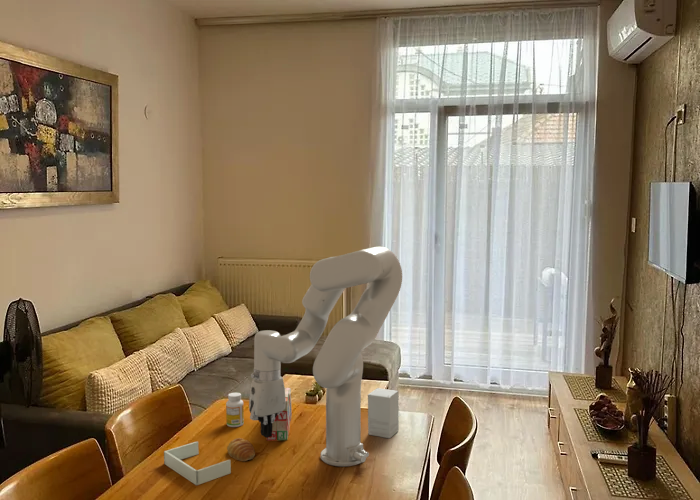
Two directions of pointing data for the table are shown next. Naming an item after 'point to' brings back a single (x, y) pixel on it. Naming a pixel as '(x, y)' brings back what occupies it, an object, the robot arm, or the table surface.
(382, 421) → the supplement box
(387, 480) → the table surface
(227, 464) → the frame
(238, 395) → the supplement bottle
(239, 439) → the pastry
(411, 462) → the table surface
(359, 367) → the robot arm
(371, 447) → the table surface
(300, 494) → the table surface
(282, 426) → the stack of blocks
